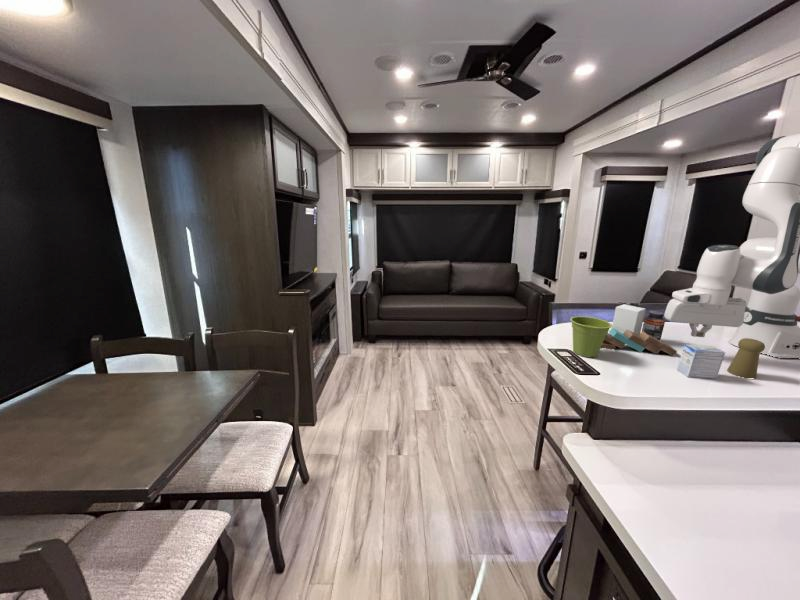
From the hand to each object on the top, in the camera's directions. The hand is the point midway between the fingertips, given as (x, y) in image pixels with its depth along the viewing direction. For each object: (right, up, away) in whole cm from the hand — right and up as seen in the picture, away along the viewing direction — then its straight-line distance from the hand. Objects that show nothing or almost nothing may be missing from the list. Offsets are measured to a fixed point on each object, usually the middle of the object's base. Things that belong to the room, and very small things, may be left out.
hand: (697, 336), depth 105 cm
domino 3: (-16, -4, +5) cm, 17 cm away
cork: (+3, -10, -10) cm, 15 cm away
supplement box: (-15, -3, +14) cm, 20 cm away
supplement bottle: (-6, -3, +13) cm, 15 cm away
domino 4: (-11, -5, +3) cm, 13 cm away
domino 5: (-7, -5, +2) cm, 9 cm away
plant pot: (-37, -6, +1) cm, 38 cm away
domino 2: (-21, -3, +6) cm, 22 cm away
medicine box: (-11, -10, -12) cm, 19 cm away
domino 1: (-24, -4, +7) cm, 25 cm away
